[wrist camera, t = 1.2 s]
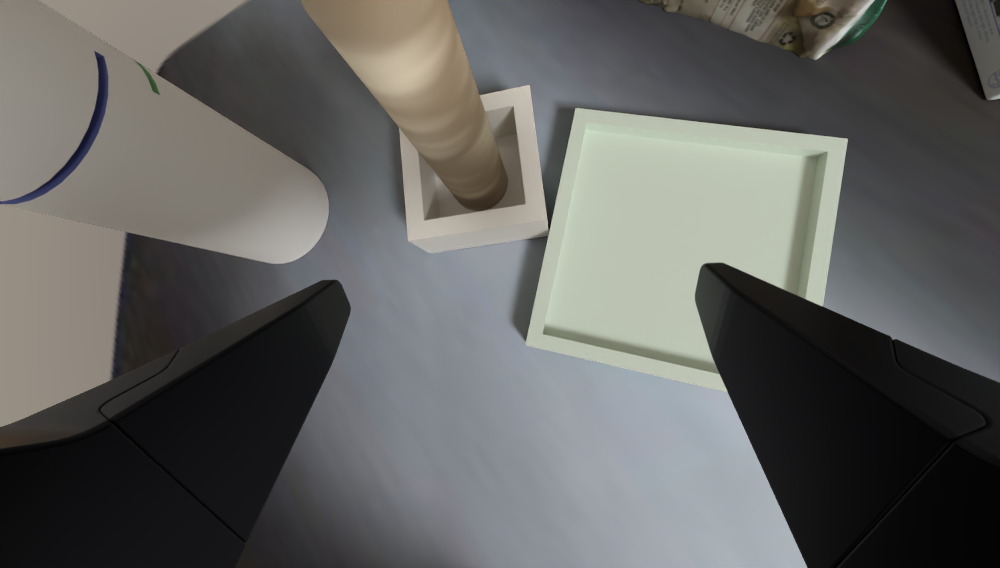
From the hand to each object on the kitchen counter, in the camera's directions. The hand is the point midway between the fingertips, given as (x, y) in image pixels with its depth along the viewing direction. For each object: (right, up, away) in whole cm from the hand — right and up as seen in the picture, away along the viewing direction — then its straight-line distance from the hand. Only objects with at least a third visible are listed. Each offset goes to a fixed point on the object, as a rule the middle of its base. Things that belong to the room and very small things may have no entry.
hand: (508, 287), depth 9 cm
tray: (+10, +2, +12) cm, 16 cm away
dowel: (-2, +6, +14) cm, 15 cm away
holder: (-1, +6, +14) cm, 16 cm away
